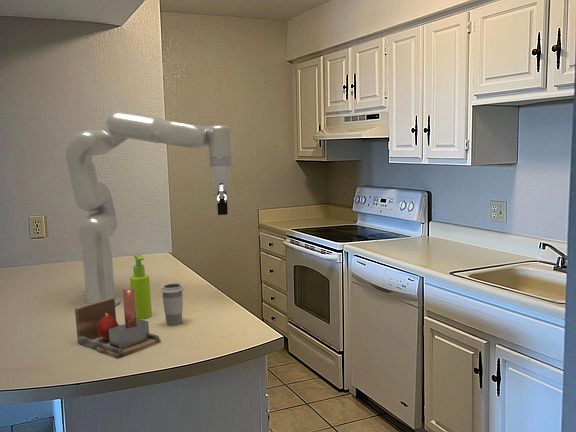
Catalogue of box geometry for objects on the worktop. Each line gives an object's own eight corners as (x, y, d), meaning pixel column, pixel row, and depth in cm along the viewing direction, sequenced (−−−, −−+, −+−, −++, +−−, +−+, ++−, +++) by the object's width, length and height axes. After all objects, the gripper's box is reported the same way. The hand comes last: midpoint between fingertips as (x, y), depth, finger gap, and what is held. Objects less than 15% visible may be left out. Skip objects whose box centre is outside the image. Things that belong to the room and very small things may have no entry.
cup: (174, 328, 168) (171, 289, 166) (158, 325, 171) (155, 287, 170) (190, 321, 174) (188, 283, 172) (174, 318, 177) (172, 281, 176)
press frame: (74, 343, 158) (71, 309, 157) (116, 329, 169) (114, 296, 168) (118, 358, 146) (115, 321, 144) (160, 342, 157) (158, 307, 155)
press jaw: (108, 346, 152) (103, 292, 149) (138, 335, 159) (134, 284, 157) (120, 350, 148) (116, 295, 146) (150, 339, 156) (146, 286, 154)
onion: (100, 337, 163) (98, 310, 162) (121, 335, 163) (119, 309, 162) (95, 344, 157) (93, 316, 156) (116, 343, 157) (114, 315, 156)
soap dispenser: (136, 321, 176) (131, 258, 173) (131, 315, 182) (126, 255, 179) (154, 318, 179) (150, 256, 176) (149, 312, 185) (145, 252, 182)
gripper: (210, 161, 197) (212, 210, 199) (208, 164, 180) (211, 216, 182) (231, 161, 198) (233, 209, 200) (231, 163, 181) (234, 215, 183)
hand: (222, 212), depth 191 cm, fingers open, 9 cm apart
